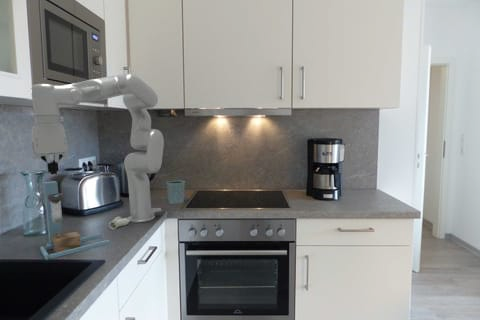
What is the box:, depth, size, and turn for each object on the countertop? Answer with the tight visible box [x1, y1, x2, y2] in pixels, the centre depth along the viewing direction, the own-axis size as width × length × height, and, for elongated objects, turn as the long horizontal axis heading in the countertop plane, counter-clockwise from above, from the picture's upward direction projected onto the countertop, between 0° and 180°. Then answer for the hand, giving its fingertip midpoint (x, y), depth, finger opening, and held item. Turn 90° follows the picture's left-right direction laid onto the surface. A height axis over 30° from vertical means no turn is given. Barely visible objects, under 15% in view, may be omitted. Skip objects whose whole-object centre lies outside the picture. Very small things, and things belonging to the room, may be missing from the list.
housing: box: [52, 231, 82, 253], centre depth 115 cm, size 8×6×6 cm
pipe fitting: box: [108, 215, 130, 231], centre depth 140 cm, size 8×4×7 cm
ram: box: [48, 193, 64, 223], centre depth 112 cm, size 5×5×10 cm
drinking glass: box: [166, 179, 186, 205], centre depth 180 cm, size 10×10×12 cm
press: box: [40, 180, 110, 261], centre depth 117 cm, size 21×16×24 cm
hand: (53, 173), depth 111 cm, fingers closed
